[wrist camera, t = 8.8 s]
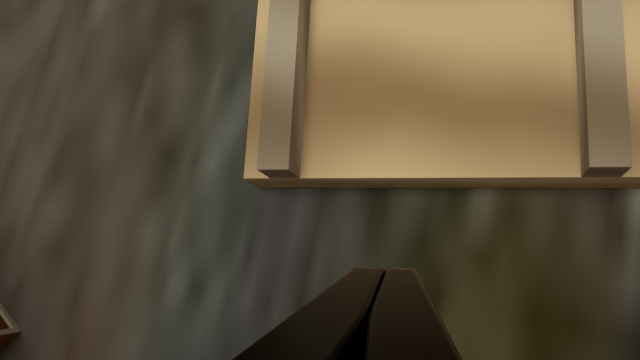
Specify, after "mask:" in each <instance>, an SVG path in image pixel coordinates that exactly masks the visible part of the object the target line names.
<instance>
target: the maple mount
mask: <svg viewBox="0 0 640 360" xmlns="http://www.w3.org/2000/svg"><path fill="white" fill-rule="evenodd" d="M244 179H246V180H247V181H249V182H251V183H253V184H254V185H256V186H258V187H259V188H640V0H258V11H257V23H256V35H255V47H254V59H253V71H252V84H251V96H250V108H249V120H248V132H247V144H246V156H245V168H244Z"/></svg>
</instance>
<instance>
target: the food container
mask: <svg viewBox="0 0 640 360" xmlns="http://www.w3.org/2000/svg"><path fill="white" fill-rule="evenodd" d="M20 333H21V330H20V329H19V327H18V326H17V325H16V323H15V322H14V320H13V319H12V318H11V316H10V315H9V313H8V312H7V311H6V309H5V308H4V306H3V305H2V304H1V302H0V351H1V350H2V349H4V348H5V347H6V346H7V345H8V344H9V343H10V342H11V341H12V340H13V339H15V338H16V337H17V336H18V335H19V334H20Z"/></svg>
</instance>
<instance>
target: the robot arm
mask: <svg viewBox="0 0 640 360" xmlns="http://www.w3.org/2000/svg"><path fill="white" fill-rule="evenodd" d="M232 360H462V358H461V356H460V354H459V352H458V351H457V349H456V347H455V345H454V343H453V341H452V339H451V337H450V335H449V333H448V331H447V329H446V327H445V325H444V323H443V321H442V319H441V317H440V315H439V313H438V311H437V310H436V308H435V306H434V304H433V302H432V300H431V298H430V296H429V294H428V292H427V290H426V288H425V286H424V284H423V282H422V280H421V278H420V276H419V274H418V273H417V271H416V270H415V269H412V268H389V269H387V270H386V271H385V270H384V269H383V268H381V267H357V268H355V269H353V270H352V271H351V272H349V273H348V274H347V275H345V276H344V277H342V278H341V279H340V280H338V281H337V282H336V283H334V284H333V285H332V286H330V287H329V288H328V289H326V290H325V291H324V292H322V293H321V294H320V295H318V296H317V297H316V298H314V299H313V300H312V301H310V302H309V303H308V304H306V305H305V306H304V307H302V308H301V309H300V310H298V311H297V312H296V313H294V314H293V315H291V316H290V317H289V318H287V319H286V320H285V321H283V322H282V323H281V324H279V325H278V326H277V327H275V328H274V329H273V330H271V331H270V332H269V333H267V334H266V335H265V336H263V337H262V338H261V339H259V340H258V341H257V342H255V343H254V344H253V345H251V346H250V347H249V348H247V349H246V350H245V351H243V352H242V353H240V354H239V355H238V356H236V357H235V358H234V359H232Z"/></svg>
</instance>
